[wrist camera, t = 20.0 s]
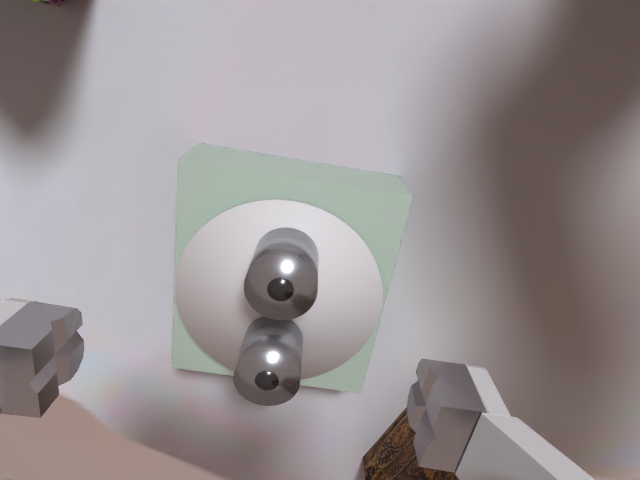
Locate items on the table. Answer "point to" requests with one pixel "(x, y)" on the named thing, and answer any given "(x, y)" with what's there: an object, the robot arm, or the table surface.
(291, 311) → the cylinder
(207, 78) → the table surface
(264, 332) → the spacer
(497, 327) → the table surface
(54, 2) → the snack box
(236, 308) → the scale
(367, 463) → the book
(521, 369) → the table surface
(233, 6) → the table surface
